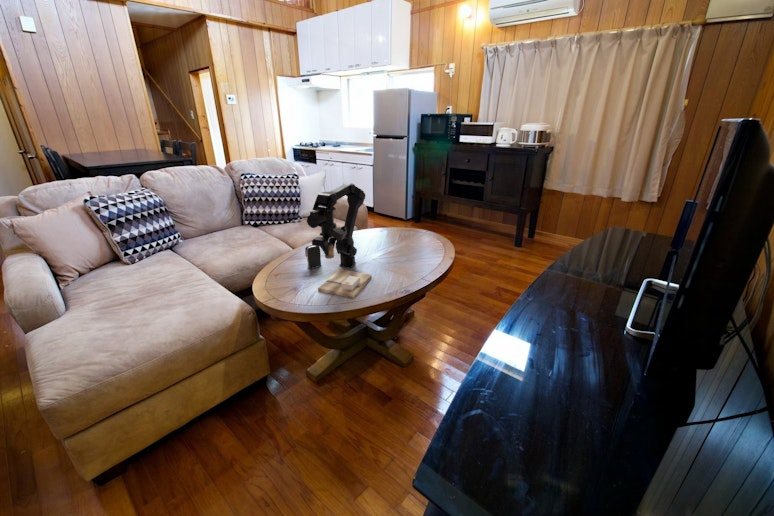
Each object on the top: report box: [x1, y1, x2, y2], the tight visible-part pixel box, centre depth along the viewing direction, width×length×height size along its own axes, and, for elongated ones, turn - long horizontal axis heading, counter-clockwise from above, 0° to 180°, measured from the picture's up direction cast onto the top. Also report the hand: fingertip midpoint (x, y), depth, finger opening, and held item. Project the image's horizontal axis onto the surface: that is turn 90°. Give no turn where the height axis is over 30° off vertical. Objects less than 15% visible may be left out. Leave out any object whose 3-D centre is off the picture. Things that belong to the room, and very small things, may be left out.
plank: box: [317, 269, 373, 299], centre depth 150 cm, size 17×20×2 cm
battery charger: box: [304, 244, 322, 270], centre depth 165 cm, size 7×4×11 cm, turn 129°
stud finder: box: [342, 276, 360, 290], centre depth 145 cm, size 5×8×3 cm, turn 160°
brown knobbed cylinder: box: [324, 244, 335, 260], centre depth 152 cm, size 4×4×7 cm
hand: (329, 253), depth 153 cm, fingers closed on brown knobbed cylinder, 4 cm apart
